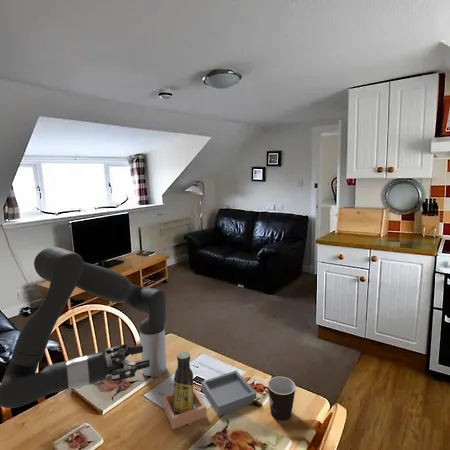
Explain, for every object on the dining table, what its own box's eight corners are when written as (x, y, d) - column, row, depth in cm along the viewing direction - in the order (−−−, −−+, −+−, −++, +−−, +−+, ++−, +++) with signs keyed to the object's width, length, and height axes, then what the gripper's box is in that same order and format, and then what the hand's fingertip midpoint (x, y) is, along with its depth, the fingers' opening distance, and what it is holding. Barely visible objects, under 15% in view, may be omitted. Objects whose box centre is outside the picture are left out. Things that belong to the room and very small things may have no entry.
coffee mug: (295, 425, 98) (295, 396, 96) (266, 421, 99) (266, 392, 98) (294, 399, 109) (295, 372, 107) (268, 396, 111) (269, 369, 109)
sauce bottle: (170, 415, 103) (167, 357, 99) (180, 402, 108) (178, 347, 105) (188, 421, 100) (186, 362, 97) (197, 407, 106) (196, 351, 102)
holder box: (162, 406, 107) (162, 396, 106) (193, 395, 111) (193, 386, 111) (172, 429, 97) (172, 419, 96) (206, 416, 102) (206, 406, 101)
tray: (201, 389, 114) (201, 381, 114) (236, 378, 120) (236, 370, 120) (218, 416, 102) (218, 407, 101) (256, 401, 108) (256, 393, 108)
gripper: (87, 371, 81) (151, 355, 89) (83, 345, 94) (140, 332, 101) (89, 398, 82) (152, 380, 90) (85, 368, 95) (141, 355, 102)
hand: (145, 355), depth 95 cm, fingers open, 8 cm apart
